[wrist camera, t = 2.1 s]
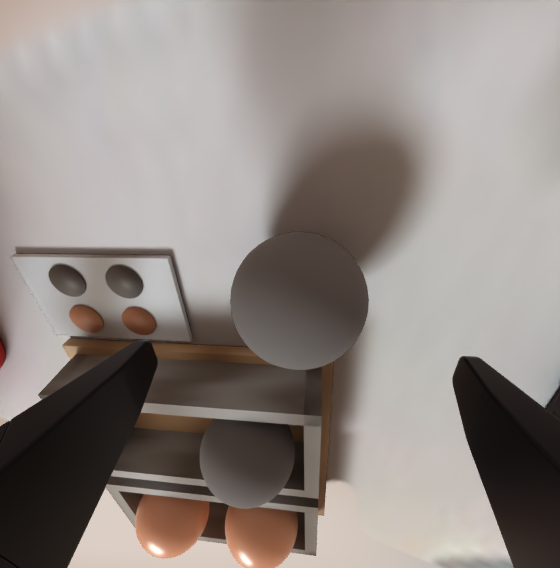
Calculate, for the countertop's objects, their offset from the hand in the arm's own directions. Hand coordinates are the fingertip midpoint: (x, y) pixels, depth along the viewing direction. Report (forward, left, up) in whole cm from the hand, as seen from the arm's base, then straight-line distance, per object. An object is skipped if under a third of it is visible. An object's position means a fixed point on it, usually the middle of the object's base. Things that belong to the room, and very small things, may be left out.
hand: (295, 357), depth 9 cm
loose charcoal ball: (0, 0, -3) cm, 3 cm away
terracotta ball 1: (+9, +18, -2) cm, 21 cm away
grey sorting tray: (+6, +11, -5) cm, 14 cm away
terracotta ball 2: (+3, +18, -2) cm, 19 cm away
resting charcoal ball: (+3, +9, -2) cm, 10 cm away
